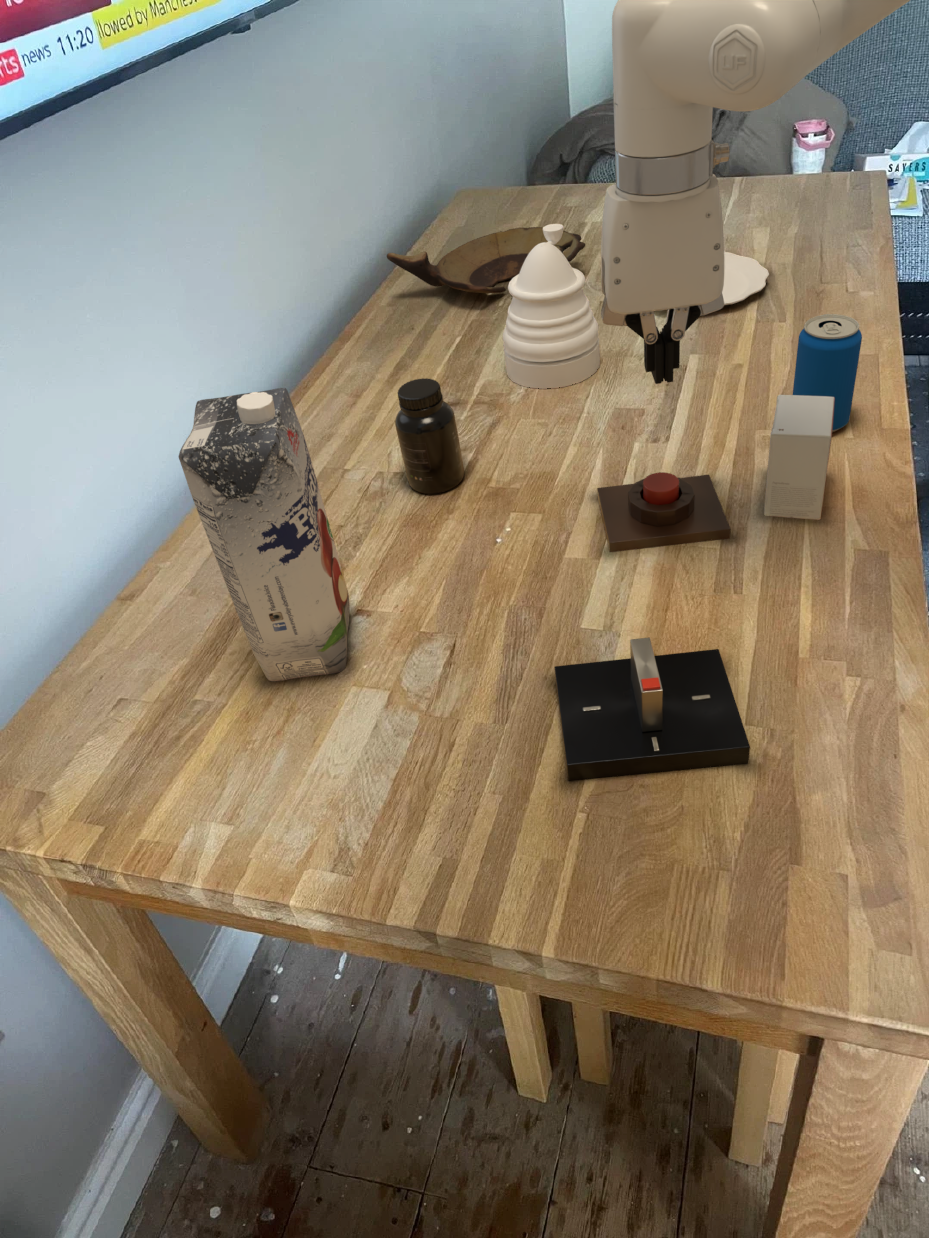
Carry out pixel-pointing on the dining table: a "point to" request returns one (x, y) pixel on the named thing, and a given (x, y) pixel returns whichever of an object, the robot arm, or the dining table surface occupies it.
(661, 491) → the button
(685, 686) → the console
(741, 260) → the plate
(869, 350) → the dining table surface
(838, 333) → the beverage can
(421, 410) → the supplement bottle
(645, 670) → the knob
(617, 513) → the button block
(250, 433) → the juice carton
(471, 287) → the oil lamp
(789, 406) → the small box
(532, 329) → the honey pot
